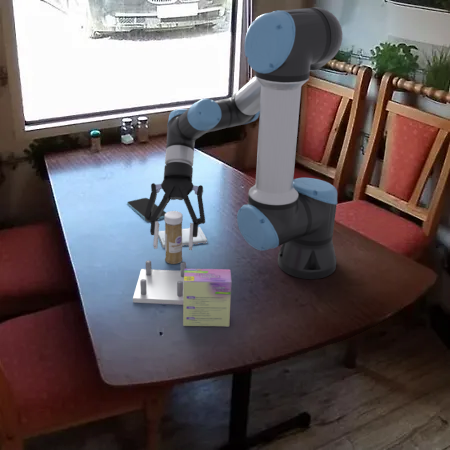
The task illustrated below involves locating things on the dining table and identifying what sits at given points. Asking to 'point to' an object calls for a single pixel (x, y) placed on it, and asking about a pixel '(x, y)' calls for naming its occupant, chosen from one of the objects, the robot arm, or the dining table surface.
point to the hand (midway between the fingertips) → (172, 247)
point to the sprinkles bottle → (173, 237)
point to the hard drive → (185, 237)
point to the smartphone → (143, 207)
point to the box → (206, 297)
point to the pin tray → (160, 286)
